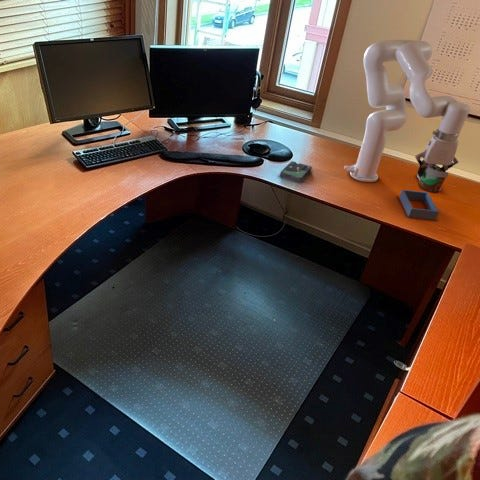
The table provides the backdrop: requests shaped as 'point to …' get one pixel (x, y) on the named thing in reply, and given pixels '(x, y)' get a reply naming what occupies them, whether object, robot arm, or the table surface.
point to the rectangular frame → (415, 212)
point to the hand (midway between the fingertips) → (429, 176)
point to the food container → (432, 178)
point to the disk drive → (295, 171)
